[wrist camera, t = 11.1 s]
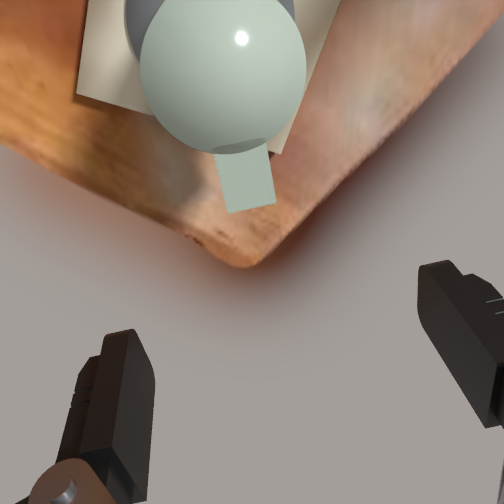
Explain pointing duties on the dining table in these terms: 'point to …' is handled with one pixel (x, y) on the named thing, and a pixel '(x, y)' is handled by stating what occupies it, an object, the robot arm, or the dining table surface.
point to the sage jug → (226, 85)
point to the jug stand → (132, 36)
